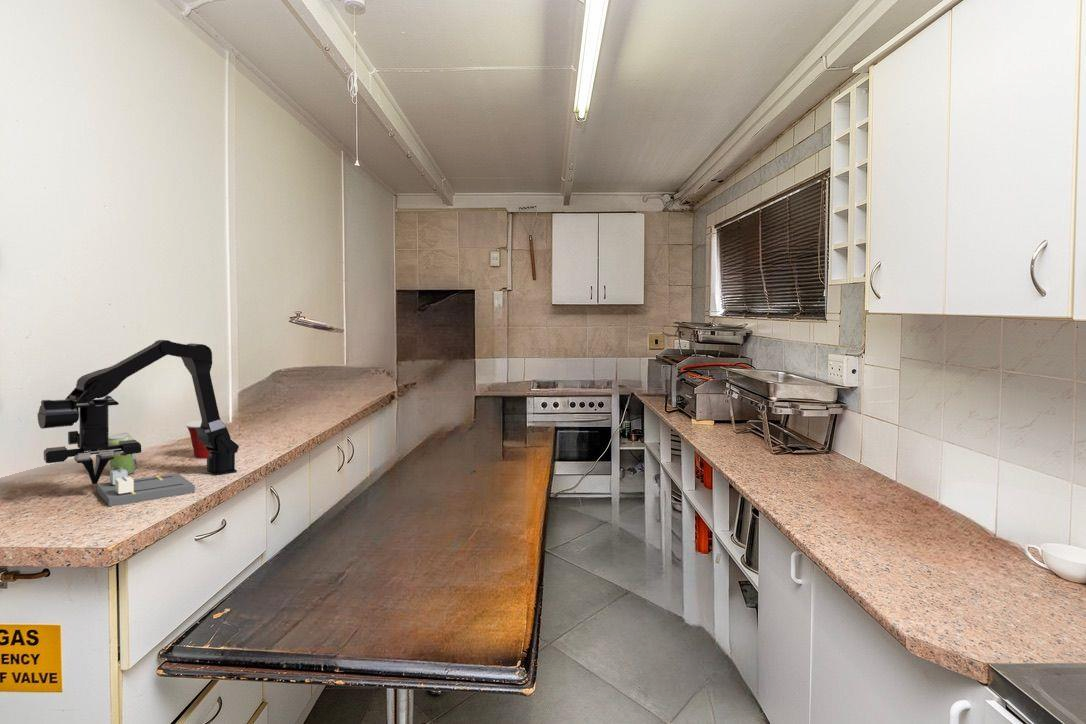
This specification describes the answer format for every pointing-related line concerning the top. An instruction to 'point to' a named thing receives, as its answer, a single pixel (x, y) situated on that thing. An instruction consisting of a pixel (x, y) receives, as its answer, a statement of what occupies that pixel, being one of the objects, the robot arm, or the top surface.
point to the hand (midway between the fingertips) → (94, 483)
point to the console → (147, 489)
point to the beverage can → (122, 454)
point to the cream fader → (124, 485)
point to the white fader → (117, 474)
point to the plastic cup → (198, 447)
